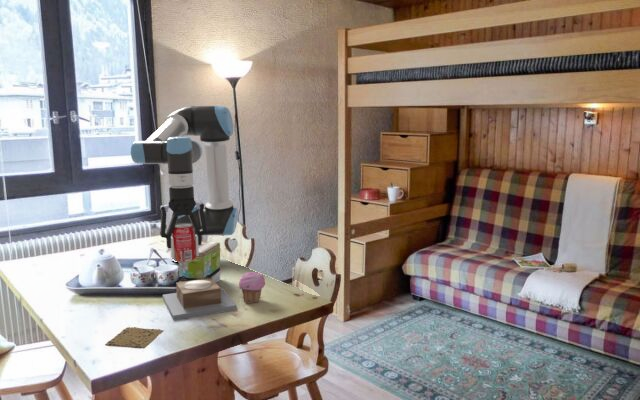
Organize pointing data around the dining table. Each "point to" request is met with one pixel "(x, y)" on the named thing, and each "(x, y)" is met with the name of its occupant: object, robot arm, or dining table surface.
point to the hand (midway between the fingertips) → (184, 256)
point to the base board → (180, 313)
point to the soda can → (184, 243)
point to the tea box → (202, 264)
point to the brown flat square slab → (134, 337)
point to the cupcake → (251, 286)
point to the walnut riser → (198, 293)
